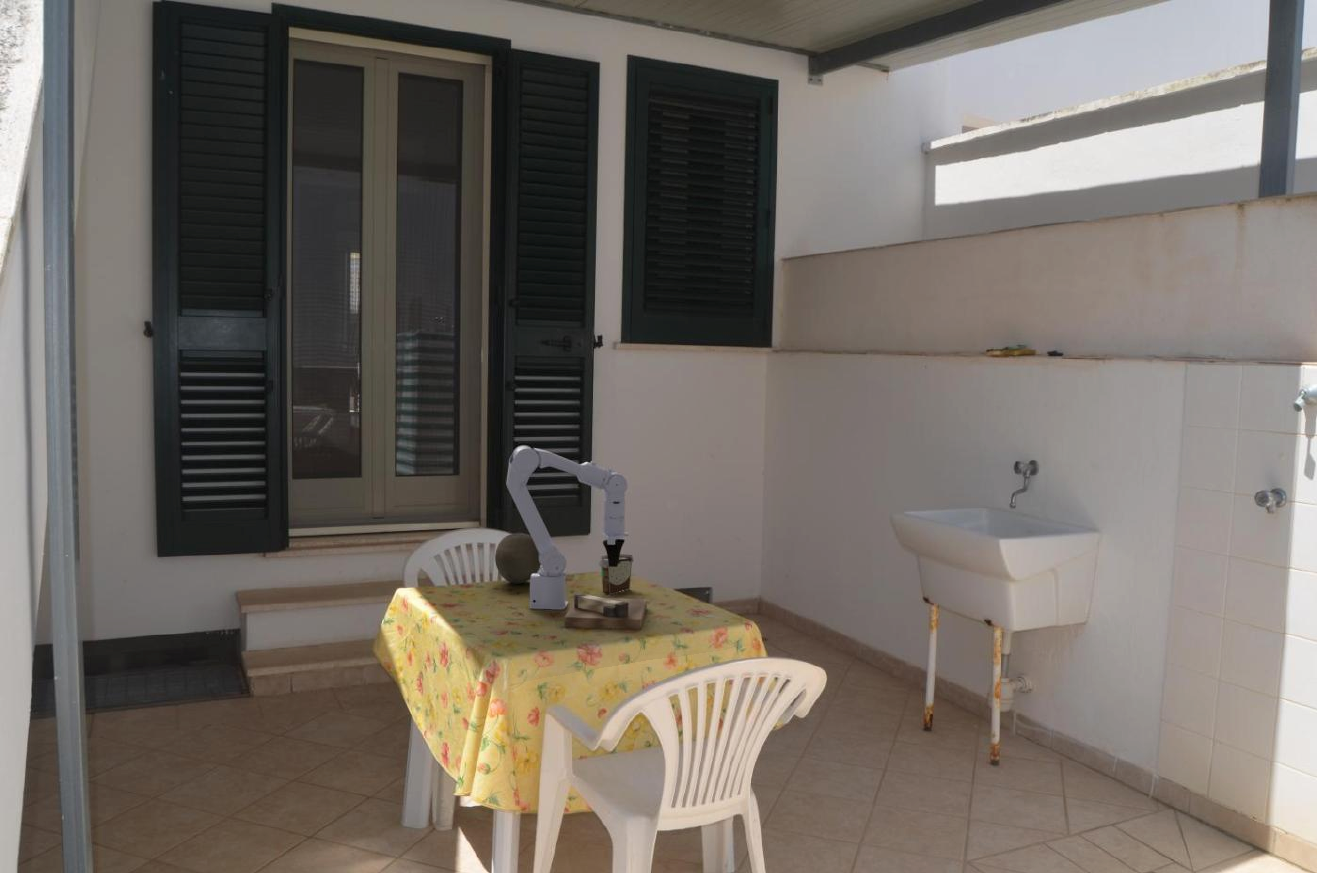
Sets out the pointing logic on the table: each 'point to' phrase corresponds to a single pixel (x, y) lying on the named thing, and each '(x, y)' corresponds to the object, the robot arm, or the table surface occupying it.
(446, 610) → the table surface
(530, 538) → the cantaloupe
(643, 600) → the stool seat
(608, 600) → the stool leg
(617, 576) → the food container
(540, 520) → the robot arm
